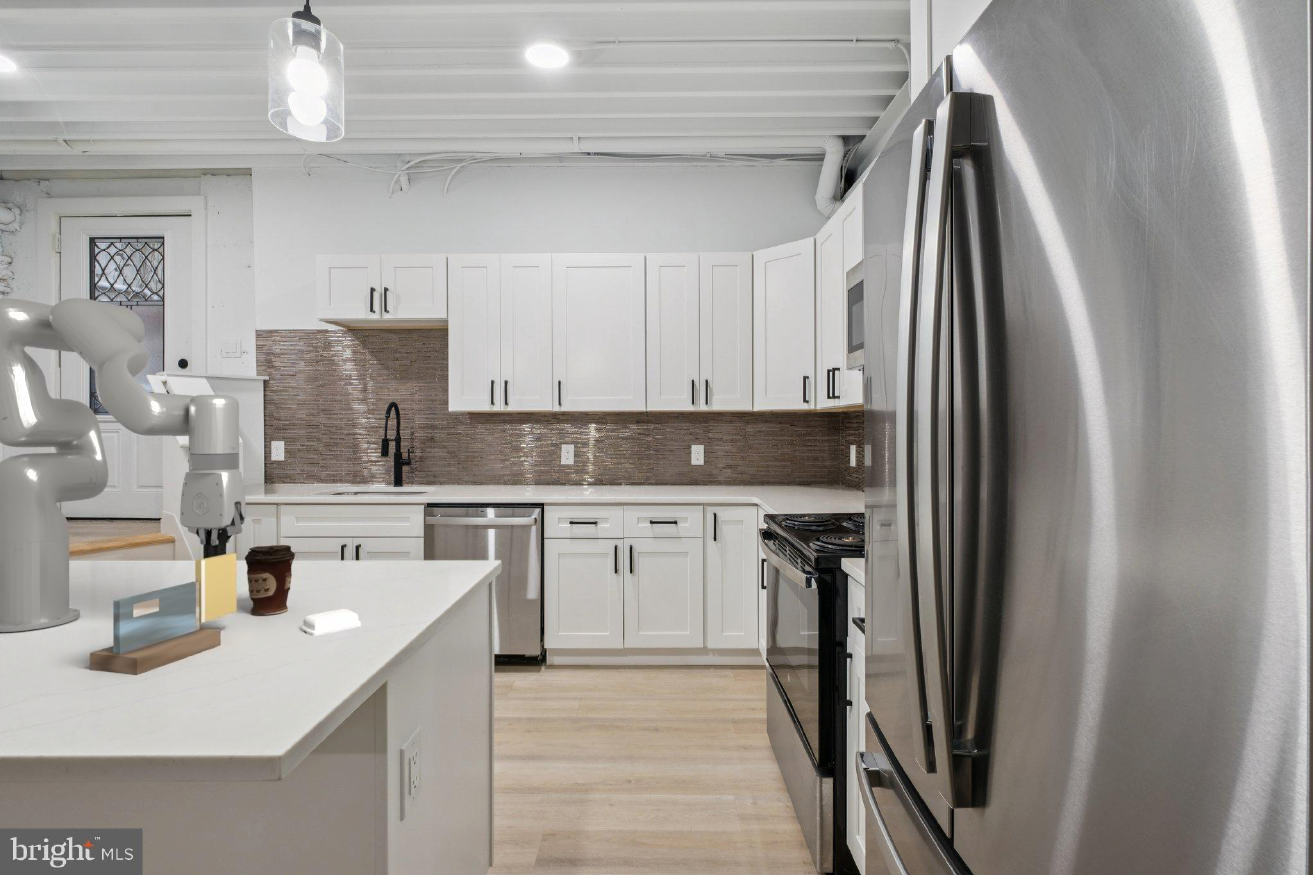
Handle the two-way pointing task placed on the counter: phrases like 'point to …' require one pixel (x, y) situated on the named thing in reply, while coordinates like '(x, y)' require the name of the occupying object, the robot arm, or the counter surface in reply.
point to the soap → (330, 622)
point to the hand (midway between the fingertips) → (215, 566)
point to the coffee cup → (269, 578)
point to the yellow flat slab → (216, 586)
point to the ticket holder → (155, 631)
